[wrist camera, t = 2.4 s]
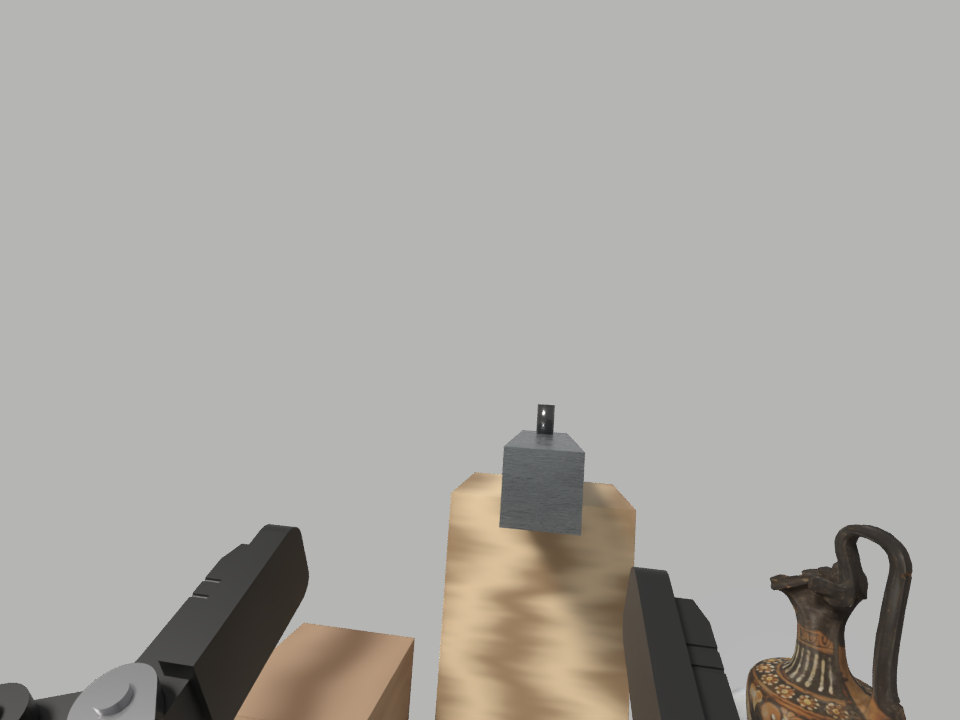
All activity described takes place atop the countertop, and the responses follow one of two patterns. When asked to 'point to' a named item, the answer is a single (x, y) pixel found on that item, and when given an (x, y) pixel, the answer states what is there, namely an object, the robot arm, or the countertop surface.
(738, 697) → the countertop surface
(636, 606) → the robot arm
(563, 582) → the oak block
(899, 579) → the vase
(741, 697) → the countertop surface
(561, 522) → the tin
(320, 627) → the walnut block
